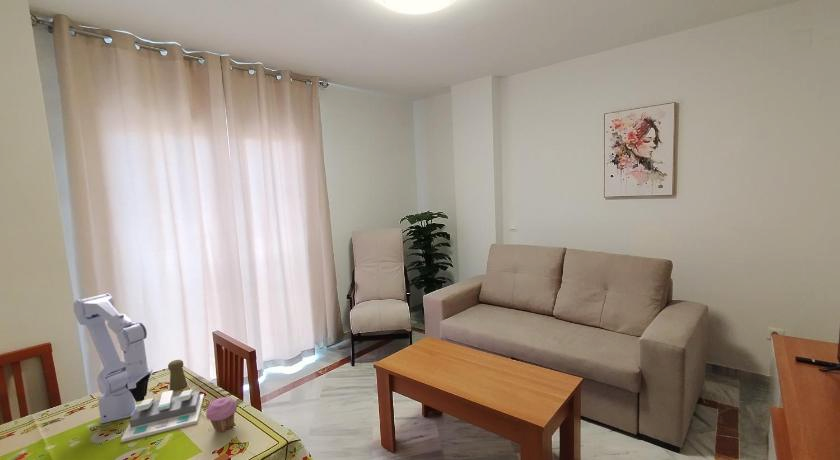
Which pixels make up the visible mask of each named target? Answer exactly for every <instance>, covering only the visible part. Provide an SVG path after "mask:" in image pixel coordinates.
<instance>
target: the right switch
mask: <svg viewBox="0 0 840 460" xmlns="http://www.w3.org/2000/svg"><path fill="white" fill-rule="evenodd" d="M193 392H194V389H193V388H192V389H188V390H183V391H182V392H180V395H178V396H179V397H178V402H180V401H184V400H189V399H191V395H192V393H193Z"/></svg>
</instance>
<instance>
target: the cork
mask: <svg viewBox="0 0 840 460" xmlns="http://www.w3.org/2000/svg"><path fill="white" fill-rule="evenodd" d="M183 367H184V361H183V360H182V359H175V360H171V361H170V362H169V363H168V365H167V369H168V370H169V371H170V372H169V373H170V374H169V375H170V376H169V391H171V390H173V392H176V391H177V390H178V391H181V390H183V389H185V388H186V387H188V383H187V382H188V381H187V379H186V375H185V371H184V368H183ZM180 389H181V390H180Z"/></svg>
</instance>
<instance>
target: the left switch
mask: <svg viewBox="0 0 840 460" xmlns="http://www.w3.org/2000/svg"><path fill="white" fill-rule="evenodd" d="M154 401H155V397H150V398H147V399H144V400H143V401H140V403H138V404H139V405H138V406H137V407H136V410H137V411H141V410H145V409H149V408H151V405H152V403H153V402H154Z"/></svg>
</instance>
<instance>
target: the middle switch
mask: <svg viewBox="0 0 840 460" xmlns="http://www.w3.org/2000/svg"><path fill="white" fill-rule="evenodd" d="M173 395H174V391H173V390H171V391H170V390H167V391H162V393H161V397H160V399H159V400H160V402H159V405H158V411H159V410H164V409H168V408H170V404H171V401H172V397H174V396H173Z"/></svg>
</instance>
